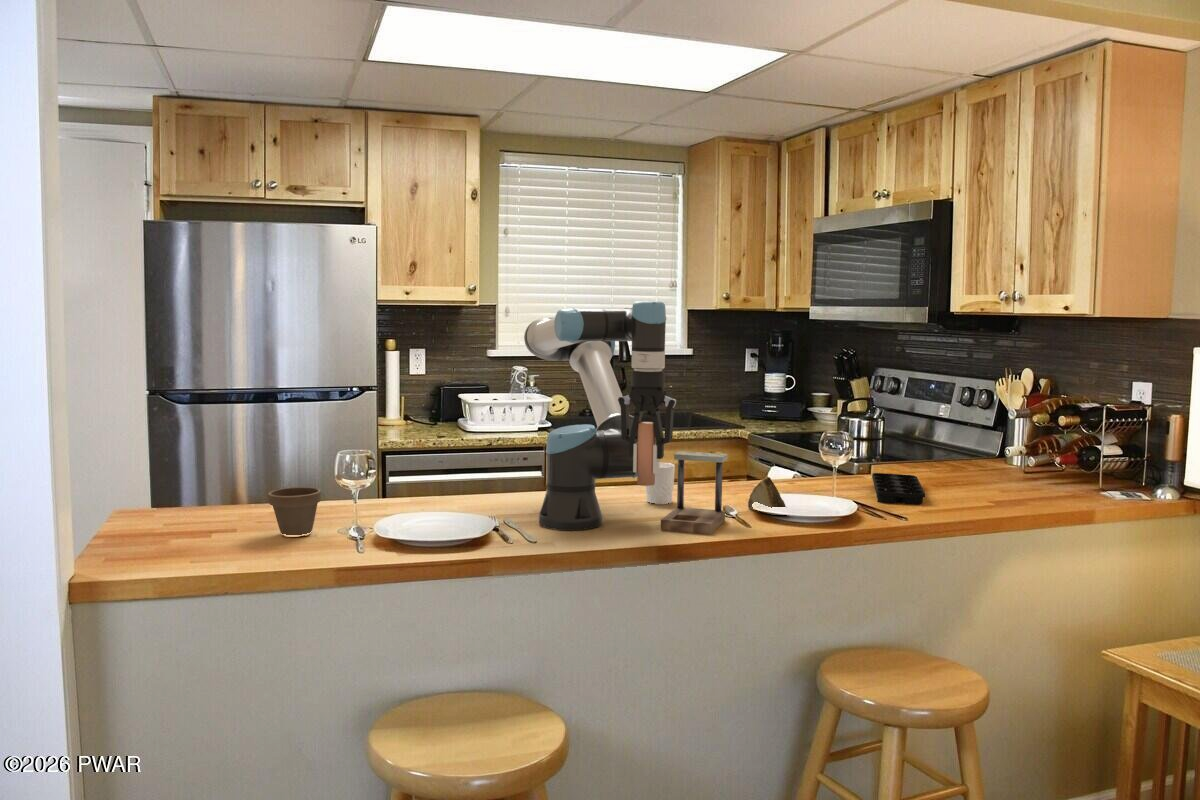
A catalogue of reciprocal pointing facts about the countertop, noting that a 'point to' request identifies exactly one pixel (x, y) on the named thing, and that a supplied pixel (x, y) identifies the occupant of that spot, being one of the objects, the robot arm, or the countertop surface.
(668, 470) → the white cup
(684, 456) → the two-post gate frame
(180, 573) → the countertop surface
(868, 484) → the countertop surface
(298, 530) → the flower pot
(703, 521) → the socket board
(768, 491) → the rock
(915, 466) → the countertop surface
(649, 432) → the peg
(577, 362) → the robot arm
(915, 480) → the egg carton
